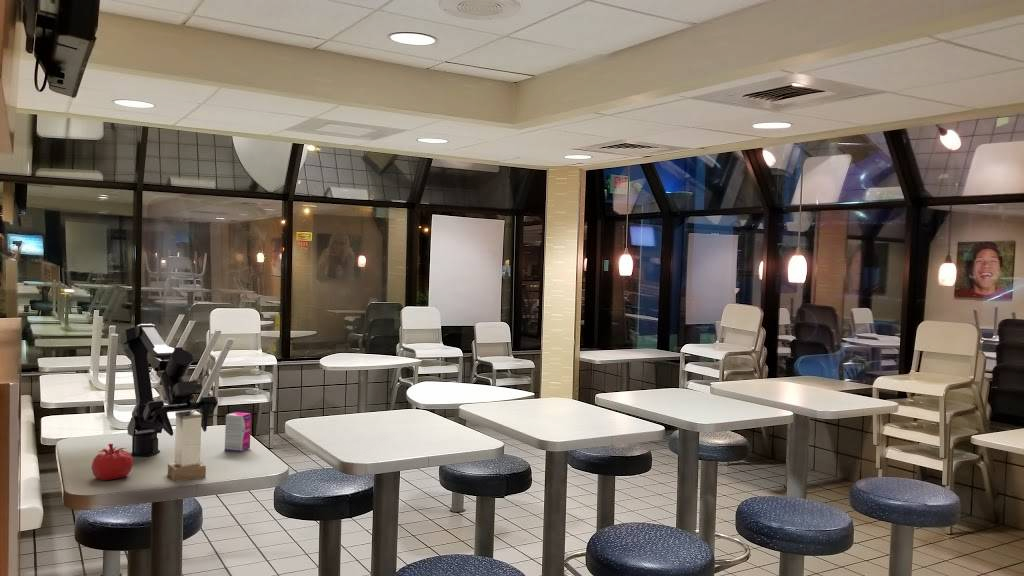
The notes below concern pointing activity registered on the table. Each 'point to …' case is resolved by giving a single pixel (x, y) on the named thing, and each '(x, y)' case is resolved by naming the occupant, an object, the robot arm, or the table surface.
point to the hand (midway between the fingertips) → (189, 432)
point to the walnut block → (186, 471)
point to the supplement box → (237, 431)
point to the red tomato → (112, 464)
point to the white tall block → (188, 438)
